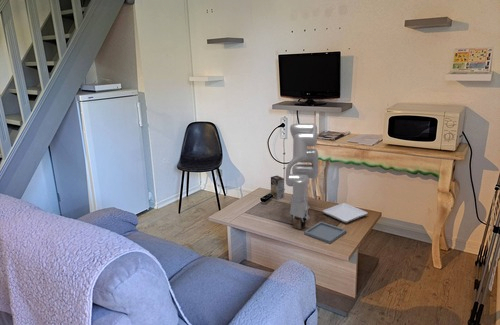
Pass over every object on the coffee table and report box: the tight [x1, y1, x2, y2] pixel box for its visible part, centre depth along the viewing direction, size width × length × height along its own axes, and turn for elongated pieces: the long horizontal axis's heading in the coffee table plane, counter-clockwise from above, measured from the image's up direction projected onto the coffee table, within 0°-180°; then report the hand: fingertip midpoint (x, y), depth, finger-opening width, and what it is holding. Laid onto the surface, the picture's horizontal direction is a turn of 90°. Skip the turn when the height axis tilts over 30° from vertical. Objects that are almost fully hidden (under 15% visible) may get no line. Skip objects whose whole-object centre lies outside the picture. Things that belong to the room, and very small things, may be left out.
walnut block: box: [293, 217, 305, 230], centre depth 222 cm, size 5×5×6 cm
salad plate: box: [322, 202, 368, 223], centre depth 238 cm, size 21×21×3 cm
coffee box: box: [270, 175, 285, 201], centre depth 271 cm, size 9×6×16 cm
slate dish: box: [303, 221, 347, 245], centre depth 214 cm, size 18×18×2 cm
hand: (299, 225), depth 223 cm, fingers closed on walnut block, 5 cm apart
